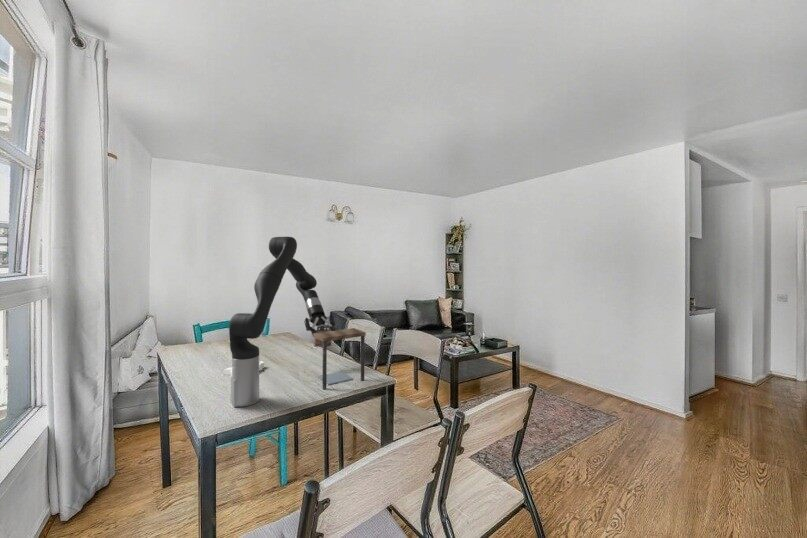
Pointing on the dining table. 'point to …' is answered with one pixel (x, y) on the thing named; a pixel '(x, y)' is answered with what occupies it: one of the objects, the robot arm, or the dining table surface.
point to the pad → (336, 377)
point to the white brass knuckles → (229, 370)
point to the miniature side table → (336, 336)
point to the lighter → (318, 342)
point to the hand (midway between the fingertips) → (324, 335)
